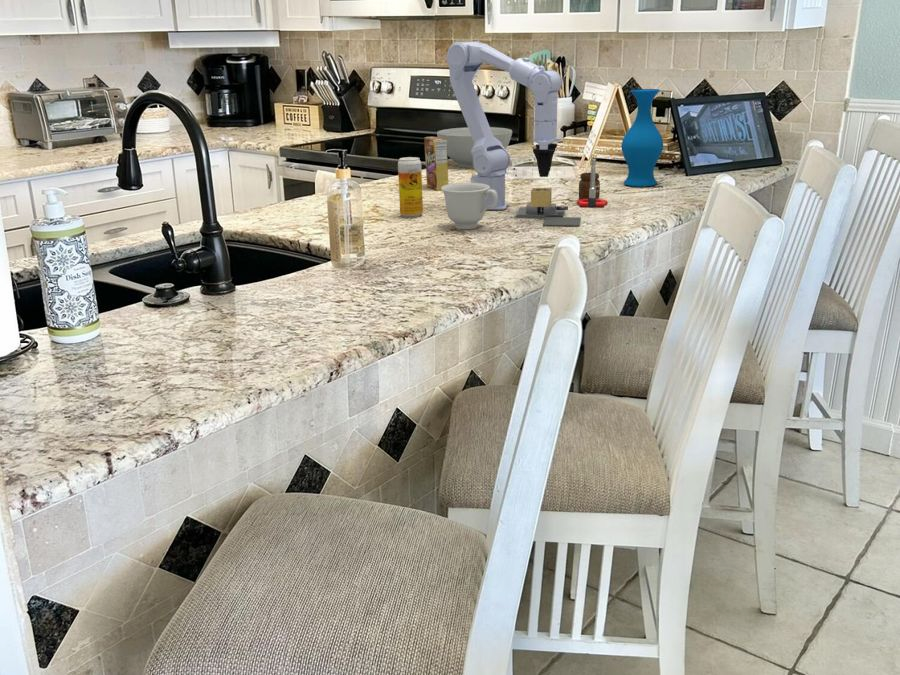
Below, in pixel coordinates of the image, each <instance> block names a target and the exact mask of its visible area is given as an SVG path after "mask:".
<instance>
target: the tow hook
mask: <svg viewBox="0 0 900 675" xmlns="http://www.w3.org/2000/svg"><path fill="white" fill-rule="evenodd" d="M596 168H597V167H596V165H595V158H594V159H593V158H592V166H590V173H591V185H590V189H589V197H588V199H577V200H576V204H577V205H578V206H579V207H580V208H605V206H607V205H608V204H609V203H608V200H606V199H603V198H599V199H596V197H595V193H596V188H595V173H596Z"/></svg>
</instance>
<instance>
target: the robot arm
mask: <svg viewBox="0 0 900 675" xmlns="http://www.w3.org/2000/svg"><path fill="white" fill-rule="evenodd" d="M445 61H446V62H447V64H448V68H449V82H450V86H451V88H452V90H453V93H454V96H455V98H456V102H457V103H458V106H459V109H460V111H461V113H462V116H463V119H464V121H465V123H466V126H467V127H468V129H469V131H470V134H471V136H472V139H473V141H474V146H473V148H472V151H471V153H472V156H473V166H474V168H473V170H474V171H475V172H476V173H477V174H472V175H470V176H471V177H470V183H482V184H486V185H489V186H490V188H489V189H488V190H490V189H492V190H495V191H496V192H497V195H498V201H497V204H496V205H495V206H494V207H493V208H490V209H487V210H490V211H491V210H496V211H497V210H498V211H499V210H500V211H501V210H502V211H504V210H506V208H507V207H508V205H509V202H506V173H507V169H508V168H509V167H510V164H511V155H510V153H509V152H508V150H507V149H506V150H505V149H504V147H503V145H502V143H501V142H500V141H499V140H498V139H496V138H495V137H494V136H493V134H492V131H491V129H490V127H491V126H490V124H489V122H488V119H487V116H486V113H485V112H484V108H483V106H482V104H481V101H480V98H479V96H478V94H477V92H476V89H475V86H474V84H473V81H474V80H473V79H474V77H475V75H476V74H477V72H479V70H480V68H481V67H482V66H483V65H484V63H485V64H488V65H491V66H493V67H496V68H497V69H500V70H503V71H505V72H507V73H509V76H510V79H511V80H512V81H515V82H516V83H518V84H521V85H522V86H524V87H527V88H529V89H530V90H531V92H532V93H533V101H534V127H533V131H534V135H533V136H534V137H533V142H534V143H535V147H534V148H533V149H532V152H533V154H534V157H535V160H536V164H537V170H538V175H539V177H540V178H548V177H549V175H550V171H551V169H552V168H551V167H552V162H553V156H554V154H555V152H556V149H557V147H558V143H556V142H561V141H562V137H557V132H558V100H559V99H558V98H559V96H558V95H559V94H558V93H559V91H561V89H562V86H563V79H562V76H561V74H559V72H557V71H556V70H555V69H548V70H546V69H545V68H546V67H545V66H544V65H537V64H536V63H533V62H531V58H528V57H519V58H517V59H515V58H512V57H510V56H508V55H507V54H505V53H502V51H499V50H498V49H495V48H493V47H492V46H490V45H489V44H487V43H483V42H481V41H479V40H473V41H462V42H461V41H454V42H453V43H452V44H450V46H449V48H448V51H447V54H446V57H445ZM493 200H494V197H493V195H492V194H489V197H488V198H487V199H486V205H485V207H486V206H488V205H490V204H492V202H493ZM487 210H486V211H487Z"/></svg>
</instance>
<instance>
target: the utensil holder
mask: <svg viewBox="0 0 900 675" xmlns="http://www.w3.org/2000/svg"><path fill="white" fill-rule="evenodd" d="M592 159H595V166H596V164H597V154H590V161H589V160H584V162H583V164H582V165H583V170H585V169H584V168H587V163H588V164H589V166H590V167H592ZM599 178H600V175H599V173H598V172H595V188H596V193H595V197H596V199H600V196H601V195H600V193H601V182H600V180H599ZM578 182H579V183H578V200H580V199H588V197H589V189H590V185H591V172H590V171H588V172H586V171H583V172H582V173H580V180H579V181H578Z"/></svg>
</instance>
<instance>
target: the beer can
mask: <svg viewBox="0 0 900 675" xmlns="http://www.w3.org/2000/svg"><path fill="white" fill-rule="evenodd" d="M397 171H398V172H397V176H398V178H397V179H398V200H399V214H400V215H401V216H402V217H403V218H410V219H411V218H419V217H421V216H422V214H423V213H424V208H423V207H424V205H423V204H424V202H423V175H422V173H423V172H422V161H421V160H420V157H416V156H415V157H414V156H413V157H412V156H407V157H400V158H399V159H398V162H397Z"/></svg>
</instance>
